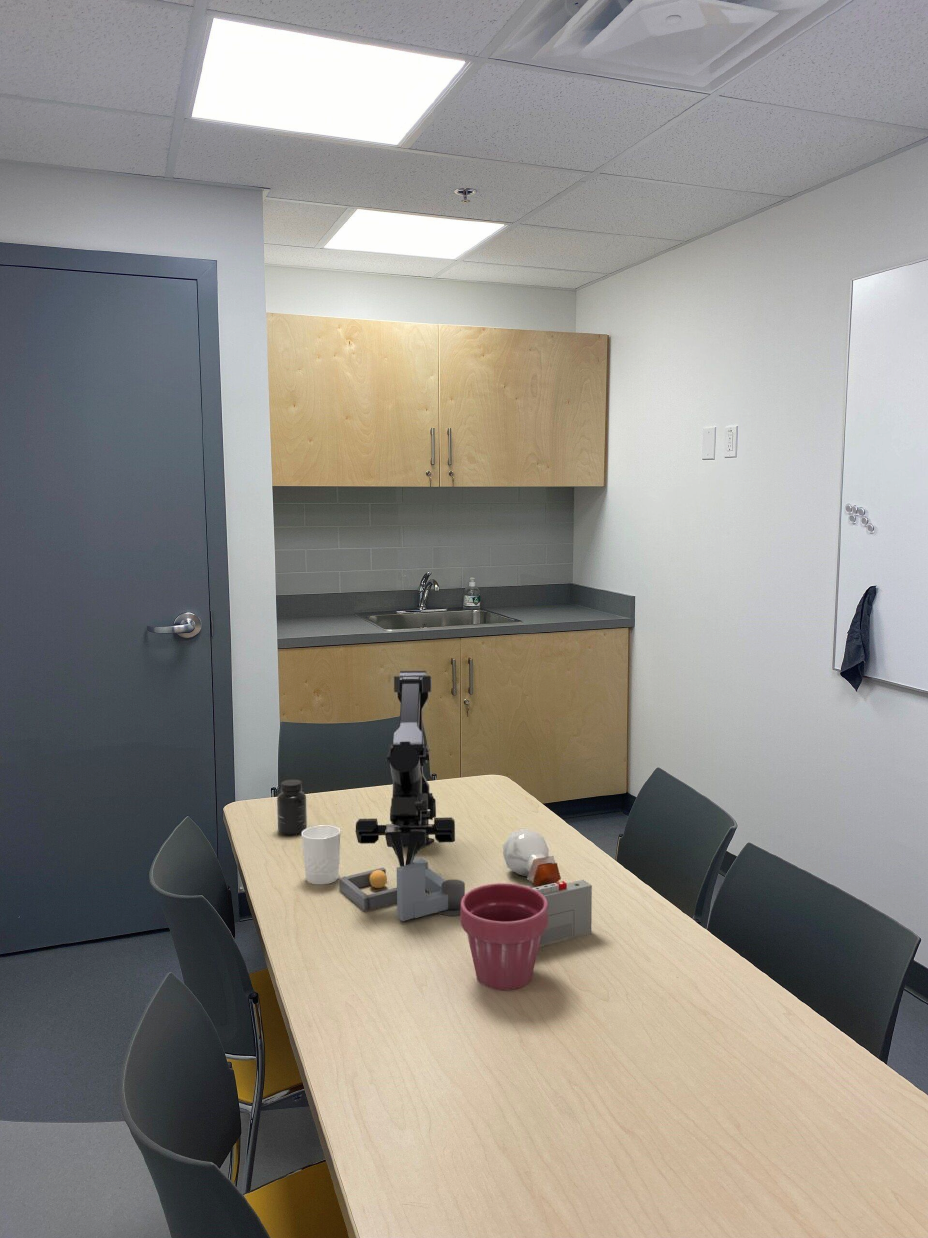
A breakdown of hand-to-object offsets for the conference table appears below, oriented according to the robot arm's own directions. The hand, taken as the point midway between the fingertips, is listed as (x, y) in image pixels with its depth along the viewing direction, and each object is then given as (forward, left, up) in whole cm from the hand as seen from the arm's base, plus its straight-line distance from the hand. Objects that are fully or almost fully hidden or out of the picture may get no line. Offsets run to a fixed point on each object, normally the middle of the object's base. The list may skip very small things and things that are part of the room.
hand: (404, 873), depth 165 cm
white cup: (-4, -25, -9) cm, 27 cm away
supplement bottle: (-20, -50, -9) cm, 55 cm away
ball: (-7, -13, -7) cm, 16 cm away
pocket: (-5, -11, -8) cm, 15 cm away
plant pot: (+8, +27, -9) cm, 29 cm away
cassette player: (-7, +27, -9) cm, 29 cm away
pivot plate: (-8, +5, -8) cm, 13 cm away
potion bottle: (-28, +11, -9) cm, 32 cm away
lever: (-7, -3, -8) cm, 10 cm away
